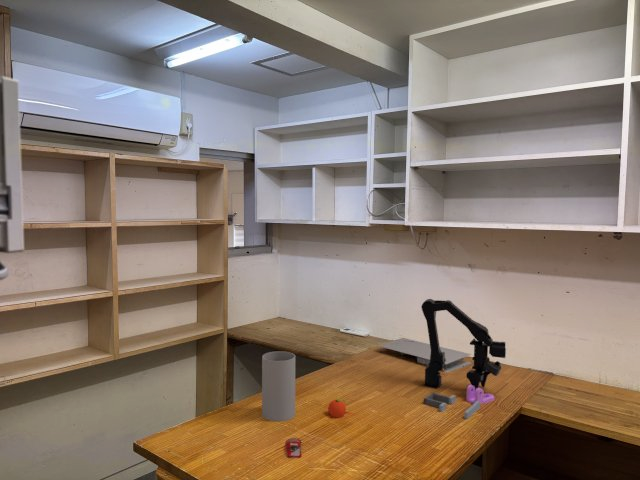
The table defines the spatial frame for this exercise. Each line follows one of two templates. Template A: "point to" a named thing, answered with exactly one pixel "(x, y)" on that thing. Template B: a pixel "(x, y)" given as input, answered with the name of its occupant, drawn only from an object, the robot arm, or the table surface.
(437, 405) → the trap pit
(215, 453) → the table surface
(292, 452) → the red labelled container
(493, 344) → the robot arm
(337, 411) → the tomato
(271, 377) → the cylinder vase
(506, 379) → the table surface
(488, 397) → the bracket
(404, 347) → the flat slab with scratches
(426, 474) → the table surface
